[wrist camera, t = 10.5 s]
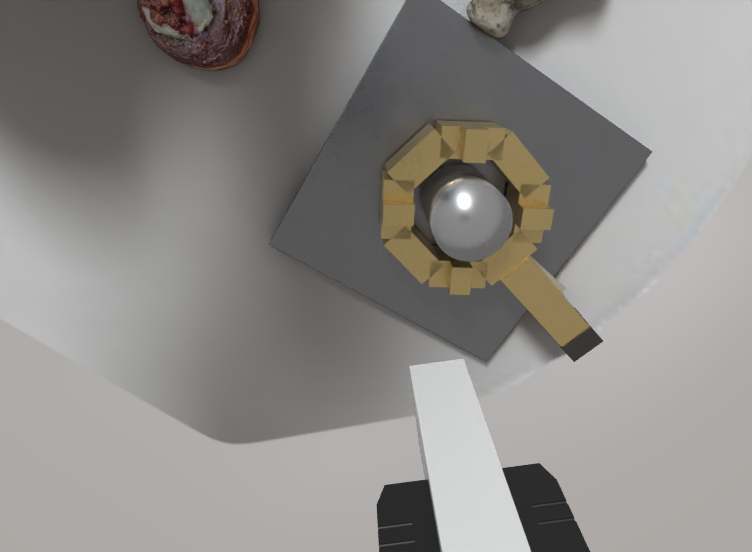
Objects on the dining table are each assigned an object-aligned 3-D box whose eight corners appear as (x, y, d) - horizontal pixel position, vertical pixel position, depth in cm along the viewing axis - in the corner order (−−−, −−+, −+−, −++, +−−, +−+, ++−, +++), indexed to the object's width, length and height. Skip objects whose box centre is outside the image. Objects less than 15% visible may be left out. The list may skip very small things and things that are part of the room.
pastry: (115, -19, 33) (76, -30, 29) (209, -93, 32) (184, -117, 27) (196, 94, 36) (173, 100, 32) (286, 30, 35) (275, 26, 30)
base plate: (271, 239, 40) (254, 275, 34) (414, -15, 34) (427, -32, 27) (496, 360, 45) (520, 413, 38) (658, 159, 39) (720, 181, 32)
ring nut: (348, 197, 37) (347, 213, 34) (468, 85, 35) (482, 89, 31) (517, 370, 44) (532, 401, 40) (630, 287, 41) (658, 311, 37)
